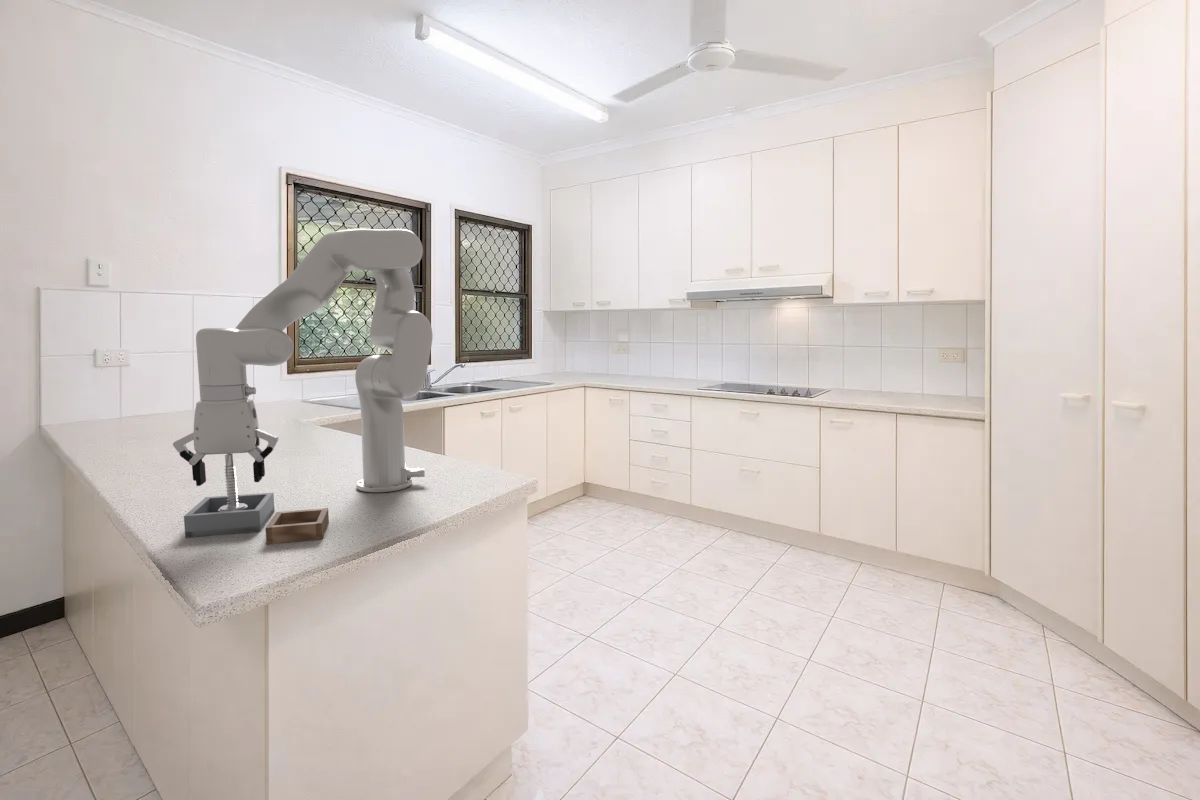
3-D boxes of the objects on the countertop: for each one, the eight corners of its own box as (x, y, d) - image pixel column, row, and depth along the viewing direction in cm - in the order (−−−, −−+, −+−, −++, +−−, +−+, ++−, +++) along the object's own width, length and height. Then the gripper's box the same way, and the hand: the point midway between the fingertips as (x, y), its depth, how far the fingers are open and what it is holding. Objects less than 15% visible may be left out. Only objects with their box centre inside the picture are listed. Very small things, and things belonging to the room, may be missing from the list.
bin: (274, 511, 118) (273, 492, 118) (260, 531, 107) (259, 510, 107) (207, 516, 115) (205, 497, 114) (185, 537, 103) (183, 516, 103)
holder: (328, 522, 112) (328, 508, 112) (322, 539, 104) (321, 523, 103) (277, 527, 109) (276, 512, 109) (266, 544, 101) (265, 527, 100)
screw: (215, 518, 111) (243, 512, 114) (224, 524, 107) (252, 517, 111) (209, 453, 109) (238, 449, 113) (218, 456, 106) (247, 452, 109)
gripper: (279, 390, 114) (284, 474, 116) (177, 392, 108) (184, 480, 111) (271, 395, 107) (276, 484, 109) (161, 397, 101) (169, 491, 104)
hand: (230, 482), depth 110 cm, fingers open, 9 cm apart
